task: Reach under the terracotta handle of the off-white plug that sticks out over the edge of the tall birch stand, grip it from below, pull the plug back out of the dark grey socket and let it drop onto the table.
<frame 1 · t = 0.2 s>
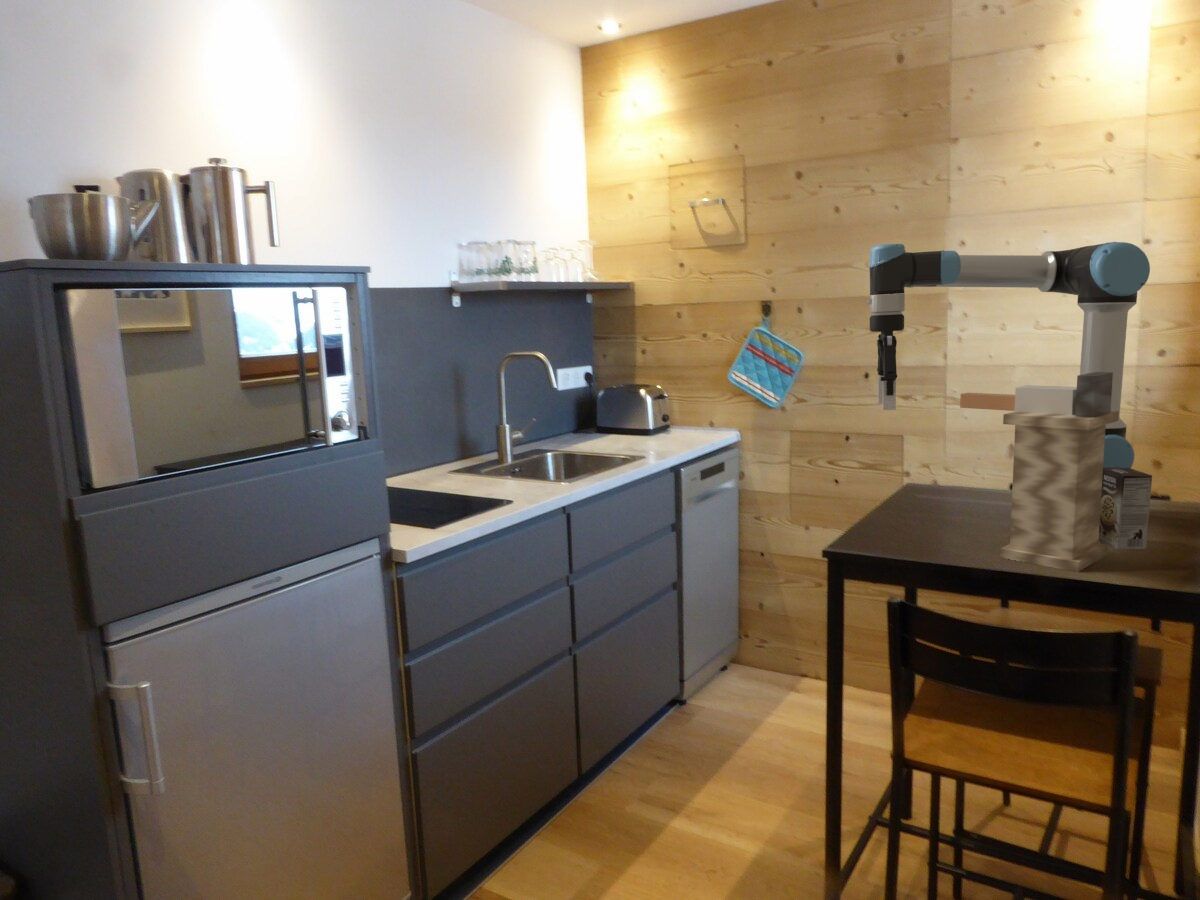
hand: (886, 406, 202), 29 cm above the table, tool pointing down, fingers open, 13 cm apart
coffee box: (1120, 544, 189), on the table
stand: (1053, 555, 181), on the table
plug: (1020, 410, 183), point 30 cm above the table, touching stand
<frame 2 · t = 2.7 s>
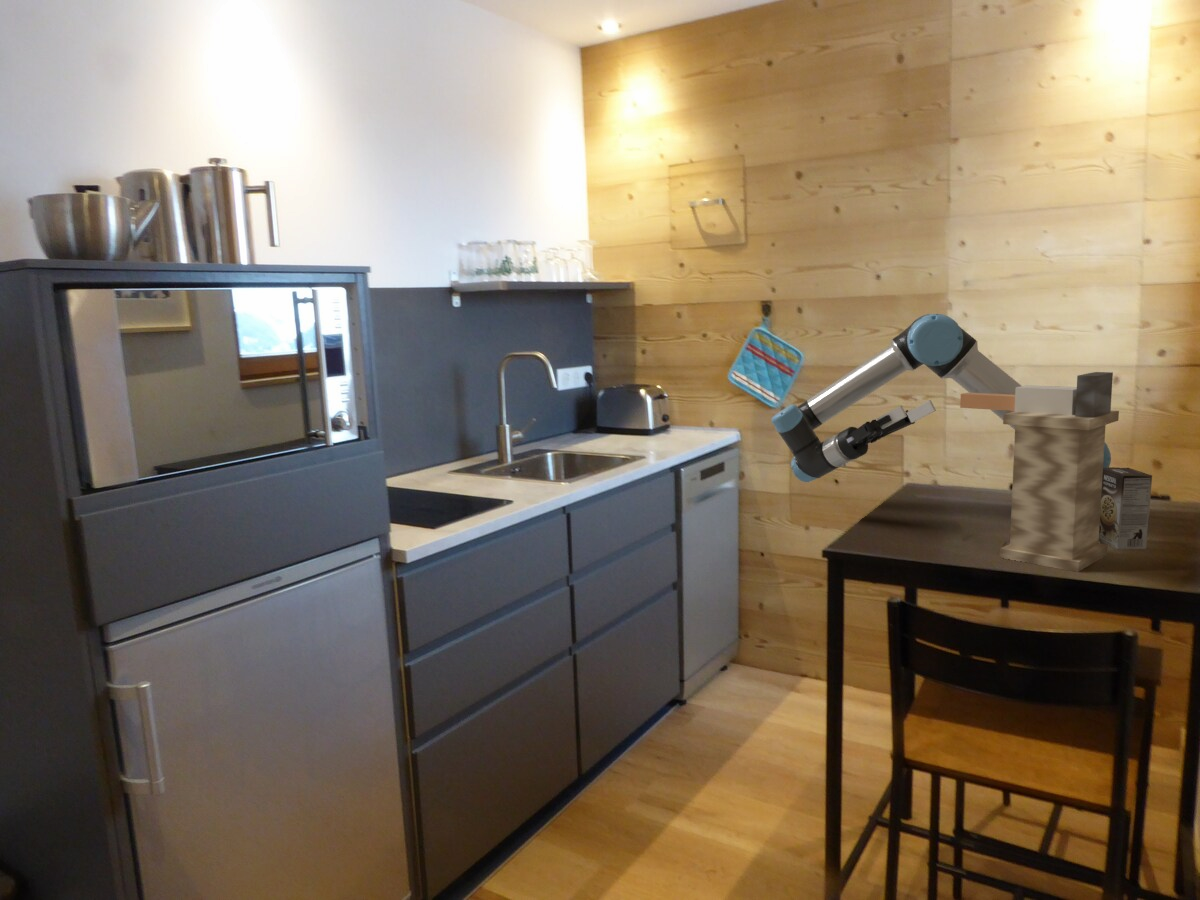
hand: (918, 408, 199), 29 cm above the table, tool pointing upward, fingers open, 13 cm apart
nothing on the table moved.
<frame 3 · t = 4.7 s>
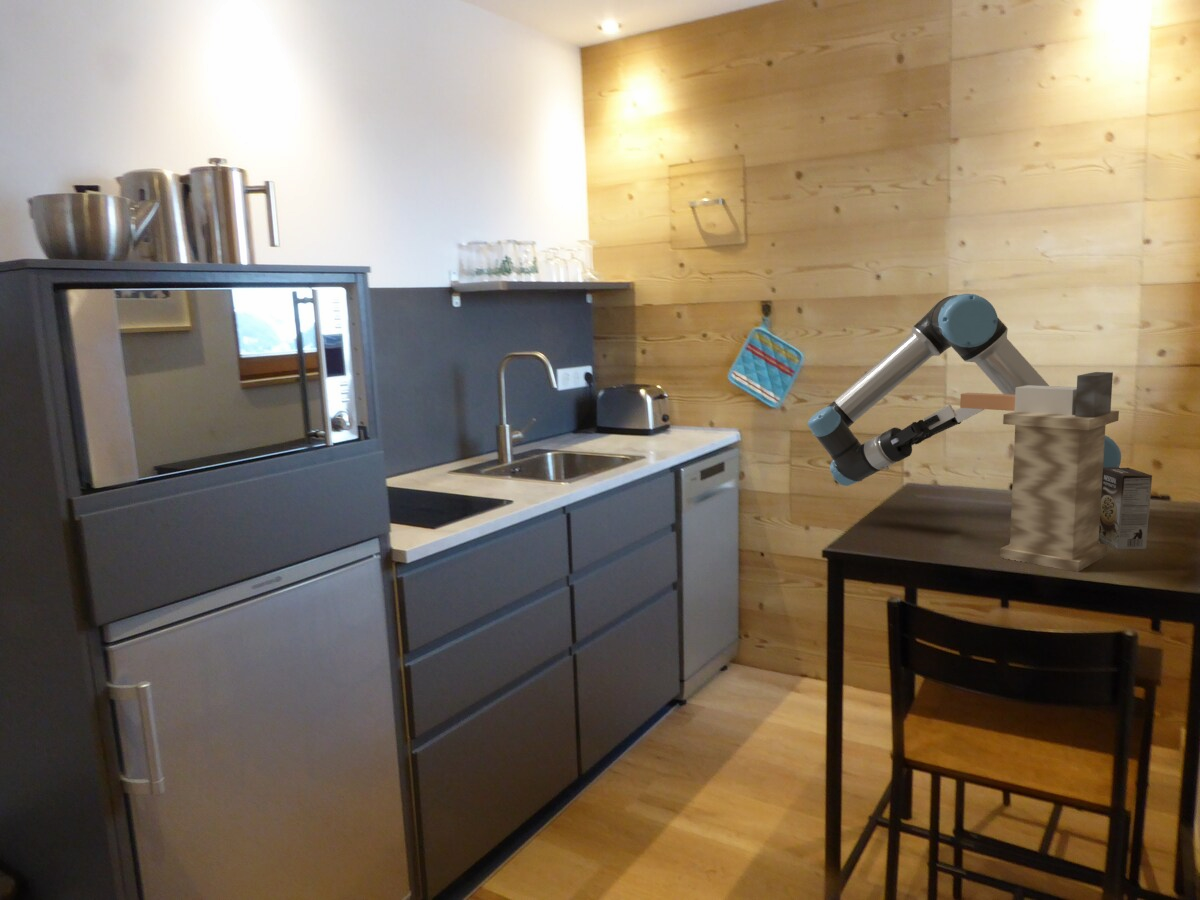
hand: (967, 407, 190), 30 cm above the table, tool pointing upward, fingers open, 13 cm apart
nothing on the table moved.
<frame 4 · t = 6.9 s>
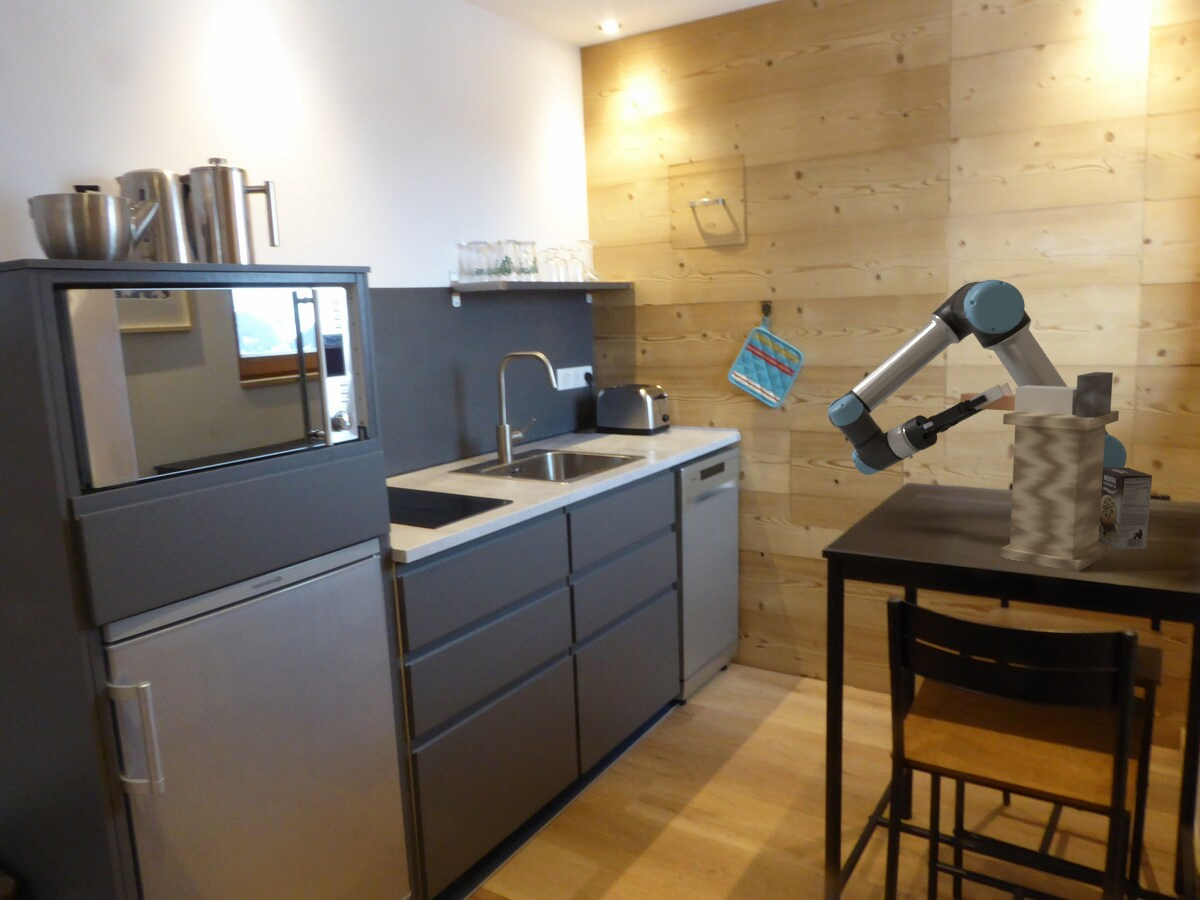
hand: (1005, 389, 184), 34 cm above the table, tool pointing upward, fingers closed on plug, 4 cm apart
plug: (1020, 410, 183), point 30 cm above the table, touching gripper, stand
everything else where it was.
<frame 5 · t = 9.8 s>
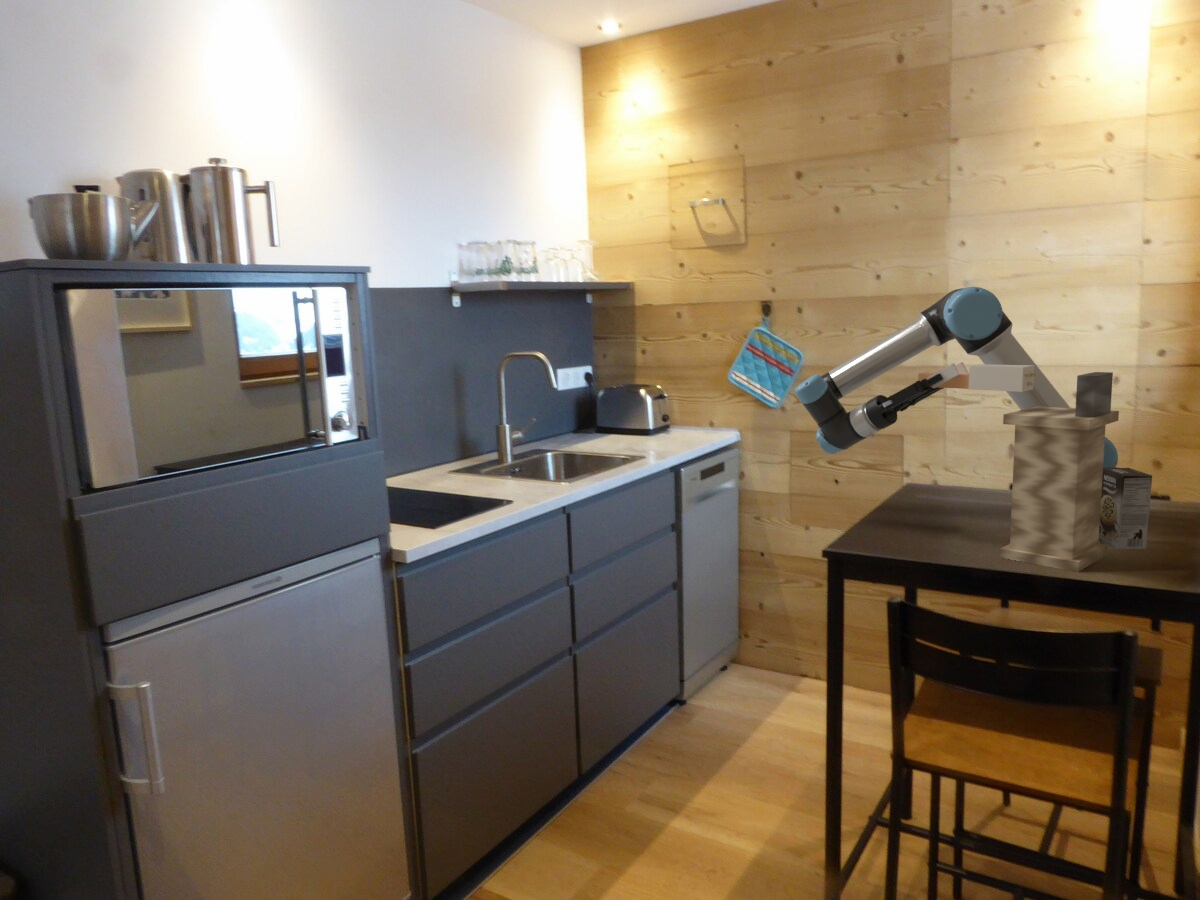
hand: (960, 368, 190), 38 cm above the table, tool pointing upward, fingers closed on plug, 4 cm apart
plug: (974, 388, 189), point 34 cm above the table, touching gripper
everything else where it was.
when the fingers open (26 cm above the table, at t = 13.0 s): plug drops 22 cm, on the table.
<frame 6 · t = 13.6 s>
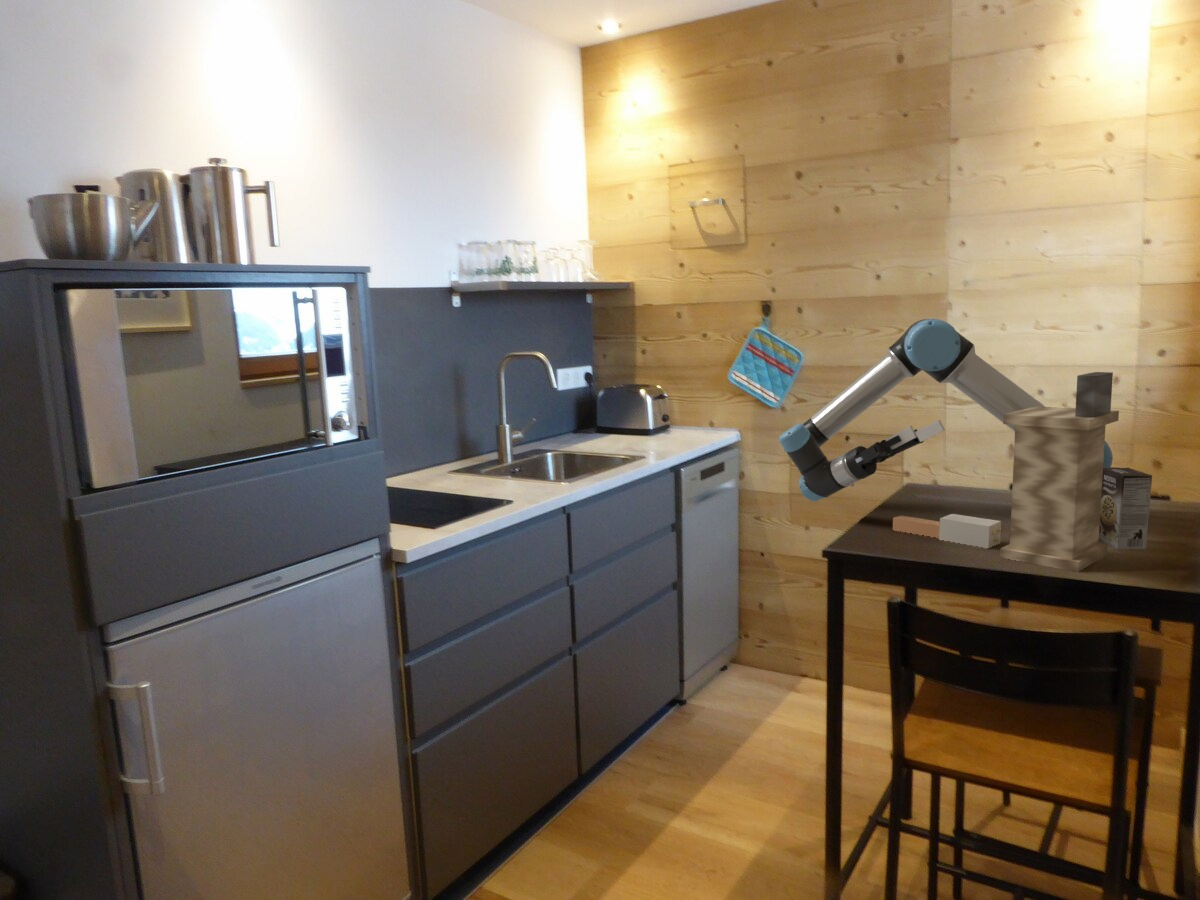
hand: (928, 428, 198), 25 cm above the table, tool pointing upward, fingers open, 13 cm apart
plug: (945, 537, 198), on the table
everything else where it was.
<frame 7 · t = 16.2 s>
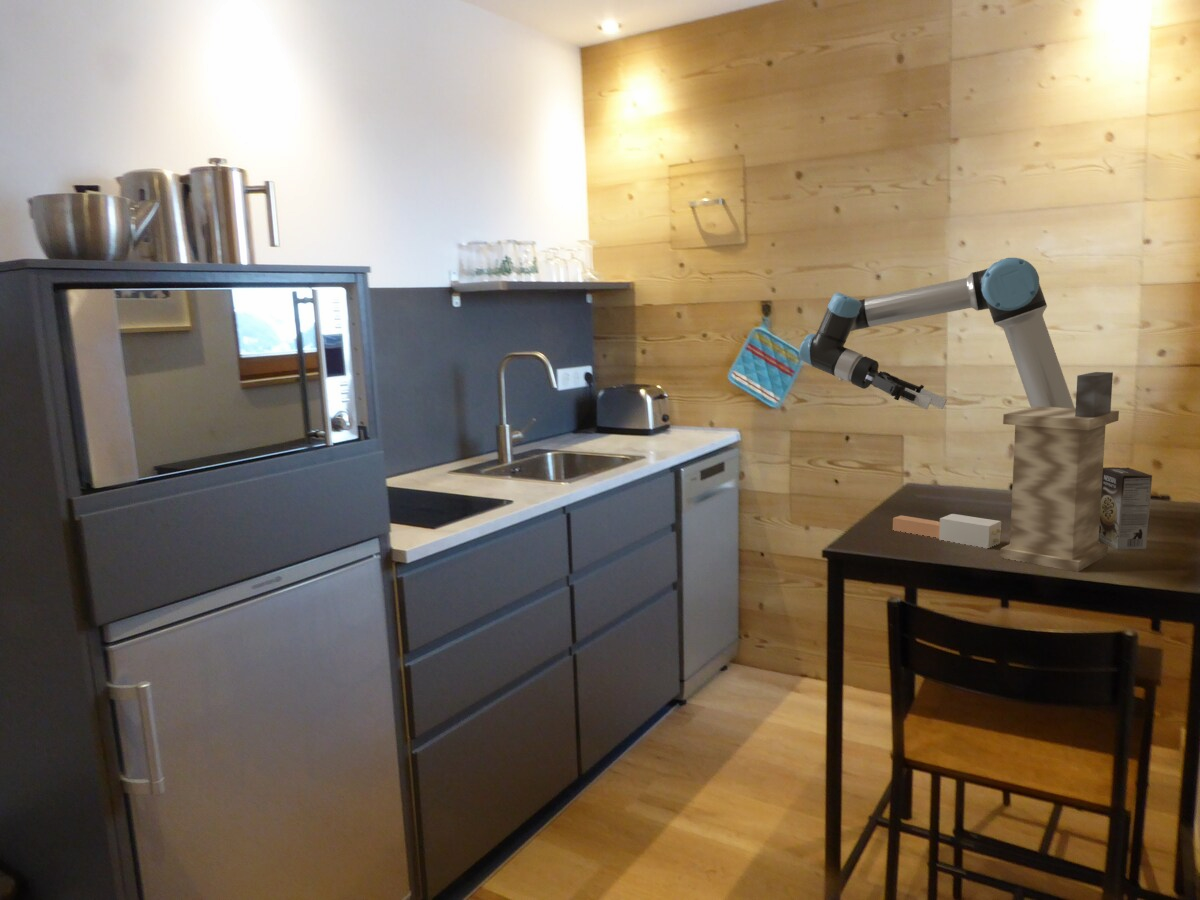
hand: (937, 404, 207), 29 cm above the table, tool tilted 70°, fingers open, 13 cm apart
nothing on the table moved.
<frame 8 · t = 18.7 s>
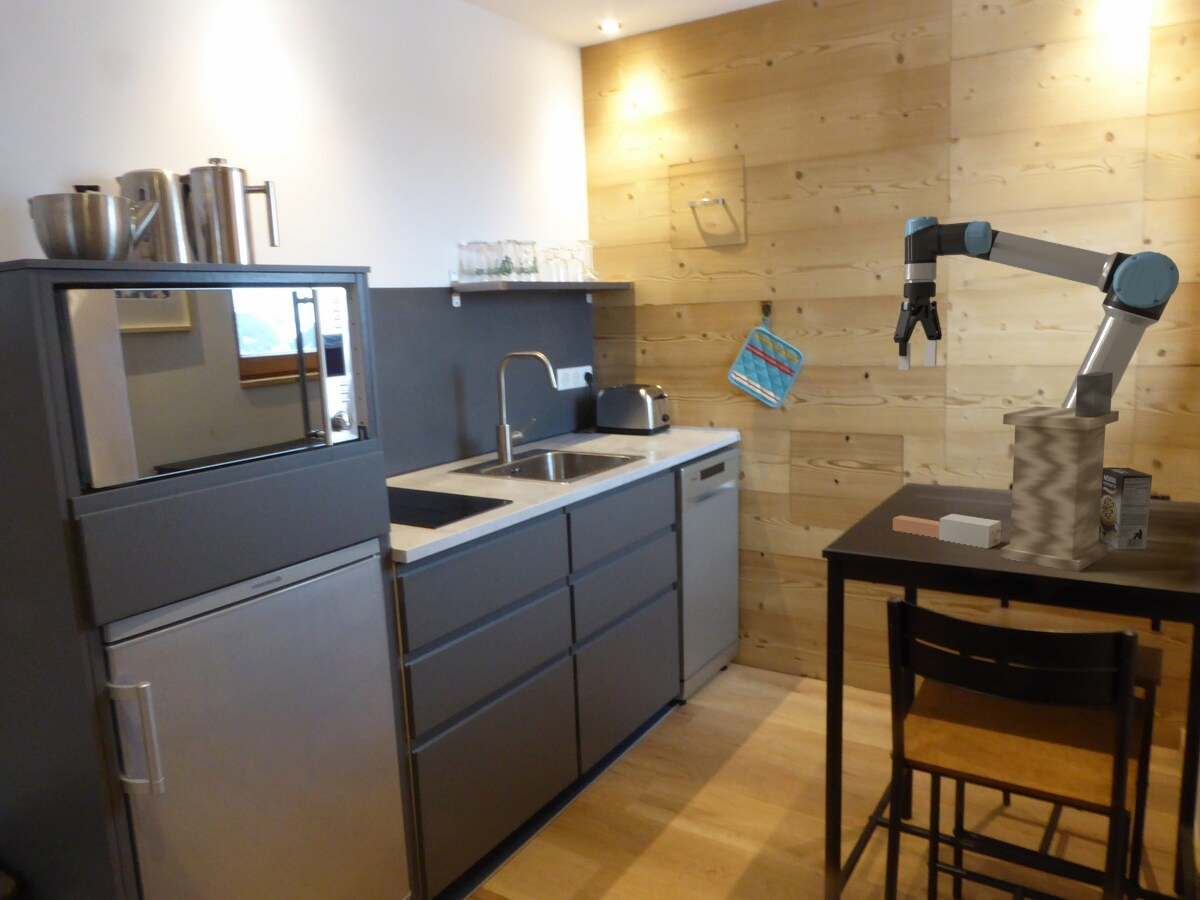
hand: (917, 367, 219), 37 cm above the table, tool pointing down, fingers open, 13 cm apart
nothing on the table moved.
at the end: plug touching table; plug on the table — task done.
